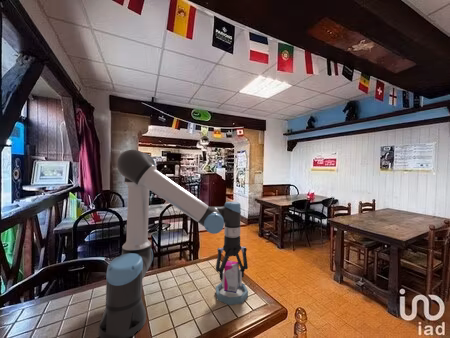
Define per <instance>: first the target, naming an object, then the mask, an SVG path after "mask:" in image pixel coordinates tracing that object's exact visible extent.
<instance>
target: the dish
mask: <svg viewBox="0 0 450 338" xmlns="http://www.w3.org/2000/svg"><path fill="white" fill-rule="evenodd" d="M215 295H216V300H217V301H219V302H221V303H224V304H226V305H228V306H231V305H238V304H239V305H240V304H243V303H244V301H246V299H247V298H248V297H249V290H248V288H247V287H246V285H245V283H243V282H242V286H240V285H239V287H238V290H237V292H236V293H233V292H227V291H224V288H223V287H222V281H221V282H220V283H218V284H217V285H216V286H215Z"/></svg>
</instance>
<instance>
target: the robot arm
mask: <svg viewBox="0 0 450 338" xmlns="http://www.w3.org/2000/svg"><path fill="white" fill-rule="evenodd" d="M156 166H157V165H156V161H155V160H154V158H153V157H152V156H151V155H150V154H148V153H146V152H143V151H141V150H138V149H127V150H125V151H122V152H121V153H120V155H118V157H117V159H116V167H117V170H118V172H119V173H120V175H122V176H123V178H124V184H126V186H127V187H128V188H127V211H126V212H127V213H126V241H125V243H123V245H122V246H121V247H122V248H121V254H120V255H119V256H117V257H115V258H113V259H112V260H111V261H110V262H109V263H108V265H107V269H106V274H105V278H106V281H105V282H106V284H105V287H106V288H105V308H104V310H103V311H104V312H103V314H102V316H101V319H100V322H99V325H98V336H99V338H131V337H133V336H135V335H134V333H136V332H137V331H138V332H140V331H141V330H142V329H143V327H144V325H145V324H146V320H147V311H146V308H145V305H144V302H143V299H142V297H143V296H142V294H143V292H142V291H143V288H142V287H143V279H144V278H145V277H146V276H145V275H146V274H147V272H148V271H149V269H150V267H151V265H152V263H153V260H154V253H153V249H152V242H151V241H150V240H149V239H148V237H149V213H150V212H149V210H150V209H149V207H150V205H149V204H150V191H151V192H152V193H154V194H155V195H156V196H158V197H160V198H161V199H163V200H164V201H166V202H167V203H168V204H170V205H172V206H173V207H175V208H176V209H178V210H179V211H180V212H182V213H183V214H185V215H186V216H187V217H189V218H191V219H192V220H194V221H195V222H197V223H199V224H200V225H201V226H203V228H204V229H205V230H206V232H208V233H209V234H212V235H215V234H219V233H220V232H222V230H223V229H224V230H223V231H224V233H223V234H224V236H223V240H224V241H223V247H217V250H216V251H217V258H216V264H215V270H216V272H217V273H218V272H219V280H220V281H221V282H222V287H223V288H224V277H225V273H224V268H225V265H226V263H227V261H229V259H230V257H235V258H236V260H237V261H236V262H238V263H239V285H240V286H242V283H243V282H242V281H243V278H244V274H245V271H246V270H248V269H249V267H248V266H249V265H248V258H247V250H248V248H247V247H246V246H245V245H244V246H241V236H240V235H241V217H242V216H241V215H242V209H241V203H239V202H238V201H226V202H225V203H224V205H223V206H221V205H220V206H209V205H208V204H206V203H205V202H203V201H202V200H201V199H199V198H197V197H196V196H195V195H194V194H192V193H191V192H189V191H187V189H185V188H183V187H182V186H180V185H179V184H178V183H176V182H174V181H173V180H172V179H170V178H169V177H167V176H166V175H165V174H163V173H162V172H161V171H159V170H157V168H156ZM223 251H224V252H225V253H224V257H223V259H222V253H223ZM240 251H241V253H242V260H241V257H240V255H239V253H240ZM221 259H222V262H221ZM242 262H243V263H242ZM140 329H141V330H140ZM139 330H140V331H139ZM138 332H137V333H138ZM137 333H136V334H137Z"/></svg>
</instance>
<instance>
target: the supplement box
mask: <svg viewBox="0 0 450 338" xmlns="http://www.w3.org/2000/svg"><path fill="white" fill-rule="evenodd" d="M239 269H240V266H239V263H238V261H233V260H227V263H226V265H225V268H224V273H225V277H224V291H227V292H233V293H236V292H237V290H238V287H239Z"/></svg>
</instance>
